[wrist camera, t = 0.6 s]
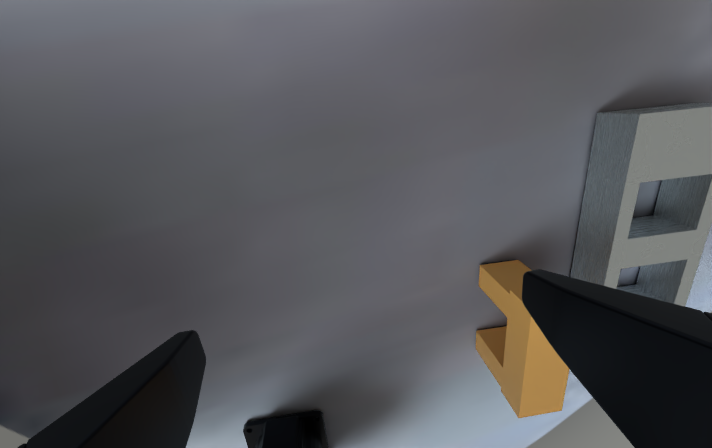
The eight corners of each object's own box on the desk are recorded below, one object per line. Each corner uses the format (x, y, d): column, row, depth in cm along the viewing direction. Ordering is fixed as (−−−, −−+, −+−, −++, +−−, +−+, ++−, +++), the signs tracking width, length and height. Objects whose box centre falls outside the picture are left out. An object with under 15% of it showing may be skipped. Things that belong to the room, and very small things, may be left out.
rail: (636, 323, 28) (671, 348, 25) (560, 336, 28) (588, 362, 25) (694, 102, 22) (749, 102, 19) (597, 112, 21) (639, 114, 19)
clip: (509, 345, 27) (561, 410, 22) (475, 351, 27) (518, 418, 21) (518, 256, 24) (581, 303, 19) (480, 261, 24) (531, 310, 18)
